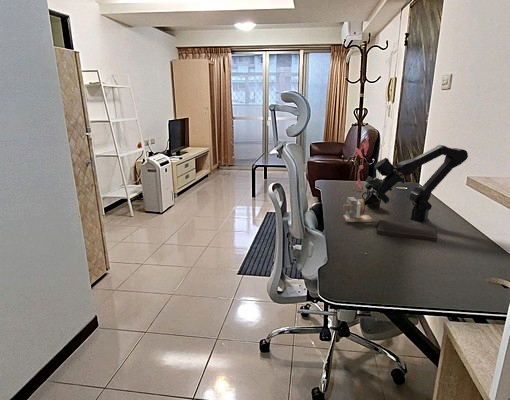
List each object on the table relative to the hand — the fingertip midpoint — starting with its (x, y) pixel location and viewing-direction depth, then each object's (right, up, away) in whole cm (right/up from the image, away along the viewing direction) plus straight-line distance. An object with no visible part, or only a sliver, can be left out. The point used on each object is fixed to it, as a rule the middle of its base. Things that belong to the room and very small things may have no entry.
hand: (362, 205), depth 168 cm
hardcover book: (+14, -12, -15) cm, 24 cm away
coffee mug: (+12, -1, +24) cm, 27 cm away
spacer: (-3, -5, +1) cm, 6 cm away
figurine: (+21, +9, +66) cm, 70 cm away
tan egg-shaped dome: (-5, -5, +1) cm, 7 cm away
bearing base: (-2, -7, +2) cm, 7 cm away
